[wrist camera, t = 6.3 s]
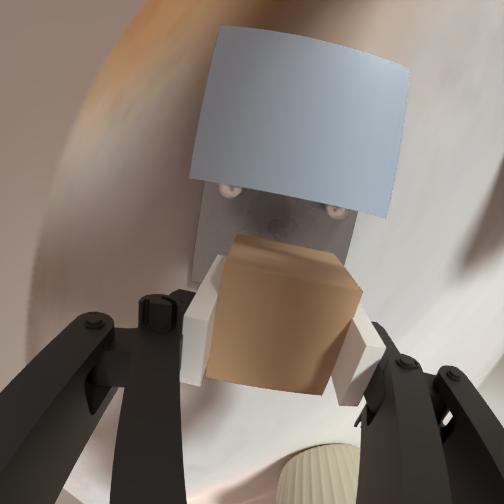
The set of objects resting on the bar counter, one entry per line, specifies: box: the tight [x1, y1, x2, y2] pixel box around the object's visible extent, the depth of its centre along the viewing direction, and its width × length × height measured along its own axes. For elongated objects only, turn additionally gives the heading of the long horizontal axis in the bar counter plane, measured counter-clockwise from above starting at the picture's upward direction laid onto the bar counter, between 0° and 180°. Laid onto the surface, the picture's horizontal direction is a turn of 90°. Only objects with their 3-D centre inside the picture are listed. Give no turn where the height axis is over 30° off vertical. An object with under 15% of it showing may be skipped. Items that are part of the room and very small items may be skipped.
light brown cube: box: [205, 234, 363, 395], centre depth 13 cm, size 5×5×5 cm
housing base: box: [191, 181, 358, 283], centre depth 23 cm, size 20×13×4 cm, turn 170°
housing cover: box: [189, 25, 410, 218], centre depth 19 cm, size 10×12×7 cm
